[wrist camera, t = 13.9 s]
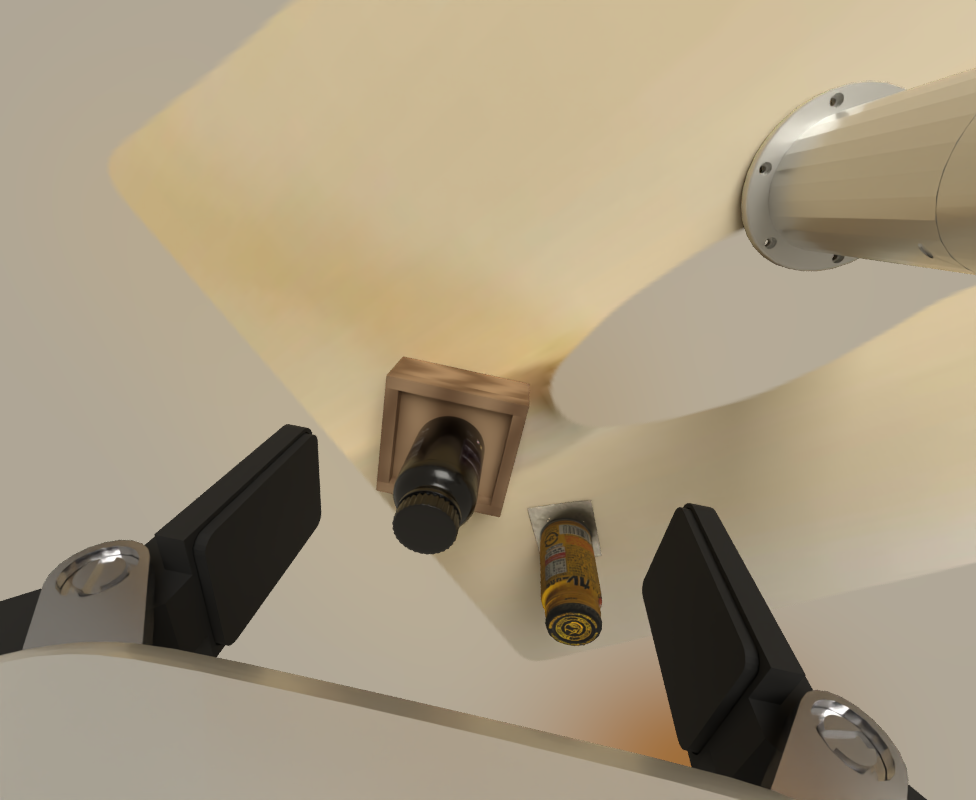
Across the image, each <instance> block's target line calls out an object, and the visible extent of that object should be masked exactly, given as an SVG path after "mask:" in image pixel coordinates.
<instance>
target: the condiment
mask: <svg viewBox="0 0 976 800" xmlns="http://www.w3.org/2000/svg"><path fill="white" fill-rule="evenodd" d="M528 512H529V516H530V519H531V523H532V527H533V530H534V534H535V538H536V541H537V545H538V549H539V552H540V565H541V569H540V570H541V575H540V576H541V582H540V583H541V601H542V605H543V608H544V609H545V616H546V619H545V620H546V622H545V624H546V628H547V630H548V633H549V635H550V636H551V637H553V638H554V639H555V640H556V641H558V642H560V643H563V644H566V645H571V646H579V645H585V644H588V643H590V642H592V641H594V640H595V639H596V638H597V637H598V636H599V634H600V632H601V630H602V620H601V611H600V608H601V605H602V597H601V590H600V584H599V579H598V573H597V567H596V562H595V556H602V555H601V550H600V544H599V539H598V534H597V529H596V524H595V518H594V513H593V508H592V503H591V501H578V502H571V503H561V504H552V505H548V506H539V507H534V508H528ZM548 518H550V519H548ZM547 520H549V521H548V522H547ZM583 521H584V522H583Z"/></svg>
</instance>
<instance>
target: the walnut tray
mask: <svg viewBox="0 0 976 800" xmlns="http://www.w3.org/2000/svg"><path fill="white" fill-rule="evenodd" d="M528 409H529V384H527V383H523V382H518V381H513V380H509V379H504V378H500V377H495V376H490V375H486V374H481V373H477V372H472V371H467V370H463V369H458V368H453V367H449V366H444V365H440V364H435V363H430V362H426V361H421V360H417V359H412V358H407V357H402V359H401V360H400V361H399V362H398V363H397V364H396V365H395V367H394V368H393V369H392V370H391V371H390V372H389V373H388V374H387V377H386V388H385V399H384V410H383V421H382V432H381V443H380V454H379V466H378V477H377V488H376V490H377V491H382V492H386V493H391V494H393V489H394V484H395V481H396V479H397V476H398V474H399V472H400V470H401V468H402V466H403V464H404V462H405V460H406V457H407V455H408V453H409V451H410V449H411V447H412V445H413V443H414V441H415V438H416V437H417V435H418V433H419V431H420V429H421V428H422V427H423V426H424V425H425V424H426V423H427V422H429V421H430V420H432V419H434V418H437V417H442V416H454V417H459V418H462V419H464V420H466V421H468V422H470V423H471V424H472V425H474V426H475V427H476V428H477V430H478V431H479V432H480V434H481V436H482V438H483V441H484V445H485V453H484V460H483V466H482V473H481V479H480V485H479V491H478V497H477V503H476V507H475V510H474V512H478V513H482V514H487V515H491V516H496V517H500V515H501V511H502V507H503V503H504V499H505V496H506V492H507V488H508V484H509V481H510V477H511V473H512V469H513V465H514V462H515V458H516V454H517V450H518V447H519V443H520V439H521V435H522V431H523V428H524V424H525V420H526V416H527V413H528Z"/></svg>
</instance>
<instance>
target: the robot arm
mask: <svg viewBox="0 0 976 800" xmlns="http://www.w3.org/2000/svg"><path fill="white" fill-rule="evenodd" d="M830 100H831V101H832V104H831V106H830ZM760 166H761V167H762V168H763V170H762V172H761V173H760V172H759V169H760ZM741 210H742V221H743V225H744V228H745V231H746V234H747V237H748V238H749V240H750V242H751V243H752V245H753V247H754V248H755V249H756V250H757V251H758V252H759V253H760V254H761V255H762V256H763V257H765V258H766V259H768V260H769V261H771V262H772V263H774V264H776V265H779V266H782V267H785V268H788V269H794V270H800V271H821V270H826V269H833V268H836V267H839V266H842V265H845V264H848V263H851V262H853V261H855V260H856V259H859V258H863V259H870V260H876V261H884V262H890V263H897V264H904V265H911V266H918V267H925V268H932V269H940V270H945V271H952V272H959V273H966V274H974V275H976V68H973V69H970V70H967V71H964V72H961V73H958V74H954V75H951V76H948V77H945V78H942V79H939V80H936V81H933V82H930V83H927V84H923V85H920V86H917V87H914V88H911V89H908V90H907V89H905V88H904V87H901V86H898V85H895V84H892V83H889V82H882V81H862V82H854V83H849V84H846V85H843V86H840V87H837V88H834V89H831V90H829V91H826V92H824V93H822V94H820V95H817V96H815V97H813V98H812V99H810V100H809V101H807V102H805V103H804V104H802V105H801V106H799V107H797V108H796V109H795V110H794V111H793V112H791V113H790V114H789V115H788V116H787V117H786V118H784V119H783V120H782V121H781V122H780V123H779V124H778V125H777V126H776V128H775V129H774V130H773V131H772V132H771V133H770V134H769V136H768V137H767V138H766V139H765V141H764V142H763V144H762V146H761V147H760V149H759V150H758V152H757V153H756V155H755V157H754V159H753V161H752V164H751V166H750V168H749V170H748V173H747V176H746V180H745V183H744V187H743V192H742V202H741ZM766 240H768V243H767V244H766V245H765V241H766ZM833 255H834V256H833ZM832 257H833V258H832ZM318 461H319V460H318V440H317V437H316V436H315V435H312V432H311V430H310V429H309V428H305V427H300V426H295V425H290V424H286V425H285V426H283V427H282V428H281V429H279V430H278V431H277V432H276V433H275V434H273V435H272V436H271V437H270V438H269V439H267V440H266V441H265V442H264V443H263V444H261V445H260V446H259V447H258V448H257V449H255V450H254V451H253V452H252V453H251V454H250V455H248V456H247V457H246V458H245V459H244V460H242V461H241V462H240V463H239V464H238V465H236V466H235V467H234V468H233V469H232V470H231V471H229V472H228V473H227V474H226V475H225V476H223V477H222V478H221V479H220V480H219V481H217V482H216V483H215V484H214V485H213V486H211V487H210V488H209V489H208V490H207V491H206V492H204V493H203V494H202V495H201V496H200V497H198V498H197V499H196V500H195V501H194V502H193V503H191V504H190V505H189V506H188V507H186V508H185V509H184V510H183V511H182V512H181V513H179V514H178V515H177V516H176V517H175V518H174V519H172V520H171V521H170V522H169V523H167V524H166V525H165V526H164V527H163V528H162V529H160V530H159V531H158V532H157V533H156V534H155V537H154V538H153V539H151V540H150V541H149V542H148V543H147V544H145V545H143V544H142V543H139V542H136V541H133V540H117V541H110V542H104V543H101V544H98V545H95V546H92V547H89V548H87V549H84V550H82V551H80V552H78V553H76V554H74V555H72V556H71V557H69V558H68V559H66V560H65V561H63V562H62V563H60V564H59V565H58V566H57V567H56V568H55V569H54V570H53V571H52V572H51V573H50V574H49V575H48V577H47V579H46V581H45V582H44V584H43V587H42V589H39V590H36V591H33V592H29V593H26V594H22V595H20V596H16V597H13V598H10V599H6V600H3V601H0V800H927V799H925V798H924V797H923V796H922V795H920V794H919V793H918V792H917V791H915V790H914V789H913V788H912V787H911V786H910V785H908V776H907V768H906V765H905V763H904V761H903V759H902V757H901V754H900V752H899V751H898V749H897V748H896V746H895V745H894V743H893V742H892V741H891V739H890V738H889V737H888V735H887V734H886V733H885V732H884V731H883V730H882V729H881V727H880V726H879V725H878V724H877V723H876V722H875V721H874V720H873V719H872V718H870V717H869V716H868V715H867V714H866V713H864V712H863V711H862V710H861V709H859V708H858V707H857V706H855V705H854V704H852V703H851V702H849V701H847V700H846V699H844V698H842V697H840V696H838V695H835V694H832V693H830V692H828V691H820V690H813V689H812V688H811V686H810V684H809V682H808V680H807V679H806V677H805V673H804V671H803V669H802V668H801V666H800V664H799V662H798V660H797V659H796V657H795V655H794V653H793V651H792V650H791V648H790V646H789V644H788V642H787V640H786V638H785V637H784V635H783V633H782V631H781V629H780V628H779V626H778V624H777V622H776V620H775V618H774V617H773V615H772V613H771V611H770V609H769V608H768V606H767V604H766V602H765V600H764V598H763V597H762V595H761V593H760V591H759V589H758V588H757V586H756V584H755V582H754V580H753V578H752V577H751V575H750V573H749V571H748V569H747V568H746V566H745V564H744V562H743V560H742V558H741V557H740V555H739V553H738V551H737V549H736V548H735V546H734V544H733V542H732V540H731V538H730V537H729V535H728V533H727V531H726V529H725V528H724V526H723V524H722V522H721V520H720V518H719V517H718V515H717V513H716V511H715V510H714V509H713V508H711V507H706V506H701V505H696V504H691V503H687V504H686V505H684V507H683V508H681V507H679V508H677V509H676V511H675V513H674V515H673V517H672V519H671V521H670V524H669V526H668V528H667V530H666V532H665V535H664V537H663V539H662V541H661V543H660V546H659V548H658V550H657V552H656V554H655V557H654V559H653V561H652V563H651V565H650V568H649V570H648V572H647V574H646V577H645V579H644V581H643V586H642V594H643V599H644V603H645V607H646V611H647V615H648V619H649V624H650V628H651V632H652V636H653V640H654V644H655V648H656V652H657V656H658V660H659V664H660V668H661V672H662V677H663V680H664V685H665V689H666V693H667V697H668V701H669V705H670V709H671V713H672V717H673V721H674V726H675V730H676V734H677V738H678V741H679V744H680V746H681V748H682V749H683V750H687V751H688V755H689V758H690V762H691V766H692V767H688V766H684V765H680V764H676V763H672V762H668V761H664V760H660V759H657V758H653V757H649V756H645V755H641V754H637V753H632V752H628V751H624V750H620V749H615V748H611V747H607V746H603V745H598V744H594V743H590V742H585V741H581V740H577V739H573V738H569V737H565V736H560V735H556V734H552V733H547V732H543V731H539V730H535V729H531V728H526V727H522V726H518V725H514V724H510V723H505V722H501V721H496V720H492V719H488V718H484V717H479V716H475V715H470V714H466V713H462V712H458V711H453V710H449V709H445V708H440V707H436V706H431V705H427V704H423V703H419V702H414V701H410V700H405V699H401V698H397V697H392V696H388V695H384V694H379V693H375V692H371V691H366V690H361V689H357V688H353V687H349V686H344V685H340V684H335V683H330V682H326V681H322V680H317V679H313V678H308V677H304V676H300V675H295V674H291V673H286V672H281V671H277V670H273V669H268V668H264V667H259V666H255V665H251V664H246V663H240V662H236V661H231V660H226V659H221V658H216V657H217V656H218V655H219V653H220V652H221V650H222V649H223V648H224V646H225V645H228V646H229V645H232V644H233V643H234V642H235V641H236V640H237V638H238V637H239V636H240V634H241V633H242V631H243V630H244V629H245V627H246V626H247V624H248V623H249V622H250V620H251V619H252V617H253V616H254V615H255V613H256V612H257V610H258V609H259V608H260V606H261V605H262V603H263V602H264V601H265V599H266V598H267V596H268V595H269V593H270V592H271V591H272V589H273V588H274V586H275V585H276V584H277V582H278V581H279V580H280V578H281V577H282V575H283V574H284V573H285V571H286V570H287V568H288V567H289V566H290V564H291V563H292V561H293V560H294V559H295V557H296V556H297V554H298V553H299V552H300V550H301V549H302V547H303V546H304V545H305V543H306V542H307V540H308V539H309V537H310V536H311V535H312V533H313V532H314V530H315V529H316V528H317V526H318V524H319V521H320V518H321V499H320V479H319V462H318Z"/></svg>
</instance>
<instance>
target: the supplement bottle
mask: <svg viewBox="0 0 976 800" xmlns="http://www.w3.org/2000/svg"><path fill="white" fill-rule="evenodd" d="M484 453H485V445H484V441H483V438H482V436H481V434H480V432H479V431H478V430H477V428H476V427H475V426H474V425H472V424H471V423H470V422H468V421H466V420H464V419H462V418H459V417H454V416H442V417H437V418H434V419H432V420H430V421H429V422H427V423H426V424H425V425H424V426H423V427H422V428H421V429H420V431H419V433H418V435H417V437H416V438H415V441H414V443H413V445H412V447H411V449H410V451H409V453H408V455H407V457H406V460H405V462H404V464H403V466H402V468H401V470H400V472H399V474H398V476H397V479H396V481H395V484H394V489H393V498H394V502H395V506H396V508H397V510H396V513H395V516H394V520H393V530H394V534H395V535H396V538H397V539H398V540H399V542H400V543H401V544H403V545H404V546H405V547H407V548H408V549H410V550H413V551H414V552H419V553H421V554H423V553H424V554H435V553H440V552H443V551H445V550H446V549H449V547H450V546H452V545H453V542H454V541H455V540H456V536H457V534H458V529H459V527H460V526H462V525H463V524H464V523H466V522H467V521H468V520H469V518H470V517H471V516H472V514H473V512H474V510H475V507H476V503H477V497H478V491H479V485H480V479H481V473H482V466H483V460H484Z"/></svg>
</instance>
